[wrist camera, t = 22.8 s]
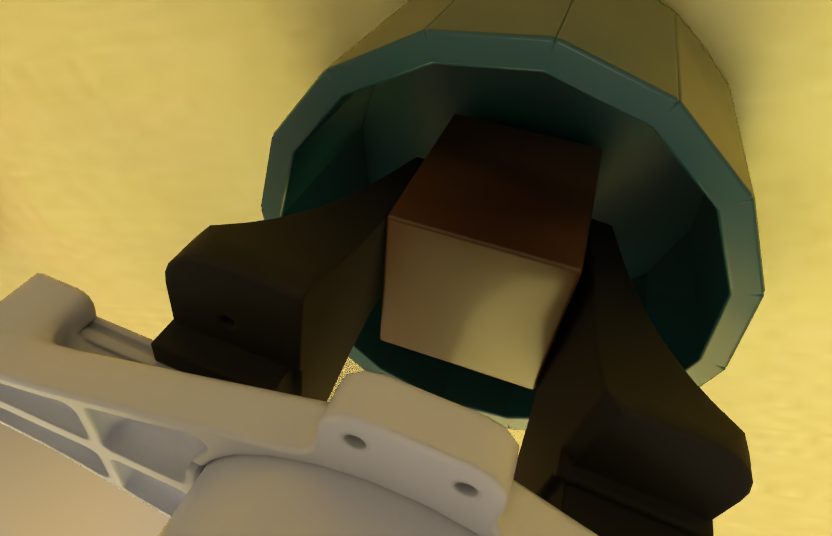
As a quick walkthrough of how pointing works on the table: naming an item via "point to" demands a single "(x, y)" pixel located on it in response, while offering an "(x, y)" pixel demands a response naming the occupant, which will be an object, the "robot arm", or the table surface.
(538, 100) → the tin
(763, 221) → the table surface
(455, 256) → the block
